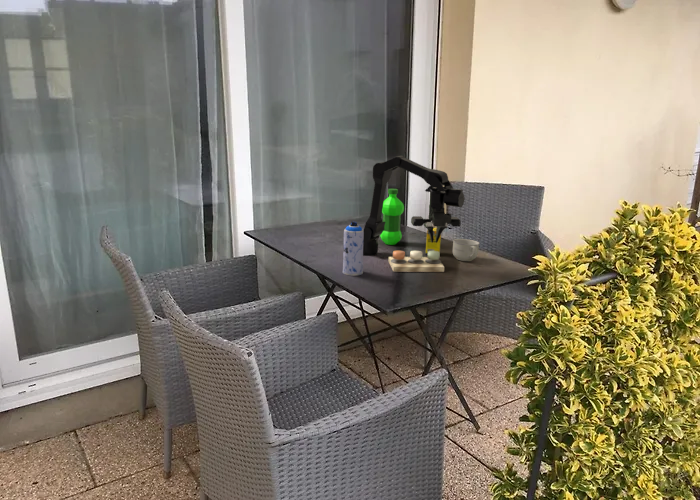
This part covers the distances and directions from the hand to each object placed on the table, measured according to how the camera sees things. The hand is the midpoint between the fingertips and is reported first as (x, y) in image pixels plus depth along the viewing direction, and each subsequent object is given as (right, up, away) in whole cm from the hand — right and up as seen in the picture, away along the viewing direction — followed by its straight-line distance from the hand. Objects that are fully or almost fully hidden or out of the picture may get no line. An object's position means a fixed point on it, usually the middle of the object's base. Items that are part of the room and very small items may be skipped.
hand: (434, 242), depth 239 cm
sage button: (0, -6, +2) cm, 6 cm away
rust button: (-14, -6, +1) cm, 15 cm away
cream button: (-7, -6, +1) cm, 9 cm away
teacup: (+15, -8, +13) cm, 21 cm away
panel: (-7, -10, +2) cm, 12 cm away
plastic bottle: (-15, 0, +36) cm, 39 cm away
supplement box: (+2, -5, +21) cm, 22 cm away
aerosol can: (-33, -12, -8) cm, 35 cm away
